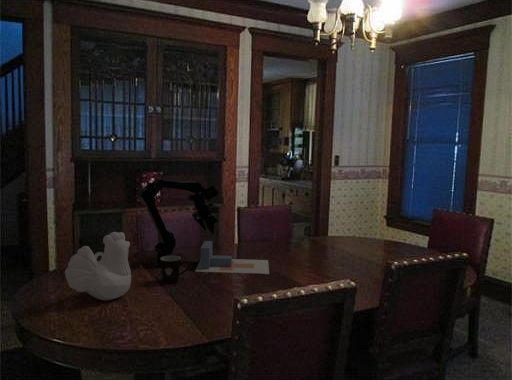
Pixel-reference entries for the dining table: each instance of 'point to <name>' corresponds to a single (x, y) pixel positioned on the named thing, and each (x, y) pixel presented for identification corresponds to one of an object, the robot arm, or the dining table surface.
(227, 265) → the t block
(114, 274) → the decorative rooster
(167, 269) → the coffee mug
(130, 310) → the dining table surface
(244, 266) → the t mat
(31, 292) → the dining table surface
